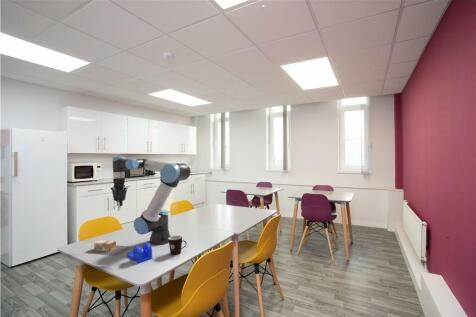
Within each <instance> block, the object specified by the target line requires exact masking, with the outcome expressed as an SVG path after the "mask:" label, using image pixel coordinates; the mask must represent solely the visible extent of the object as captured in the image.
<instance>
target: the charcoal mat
mask: <svg viewBox="0 0 476 317" xmlns="http://www.w3.org/2000/svg"><path fill="white" fill-rule="evenodd" d="M132 248H133V245H132V246H131V245H120V244H119V245H117V244H116V249H114V250H112V251H98V250H94V249H91V250H89V251H87V252H86V254H88V255H89V254H91V255H100V256H114V257H117V256H119V255H121V254H123V253H125V252H126V251H128V250H131V249H132Z"/></svg>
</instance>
